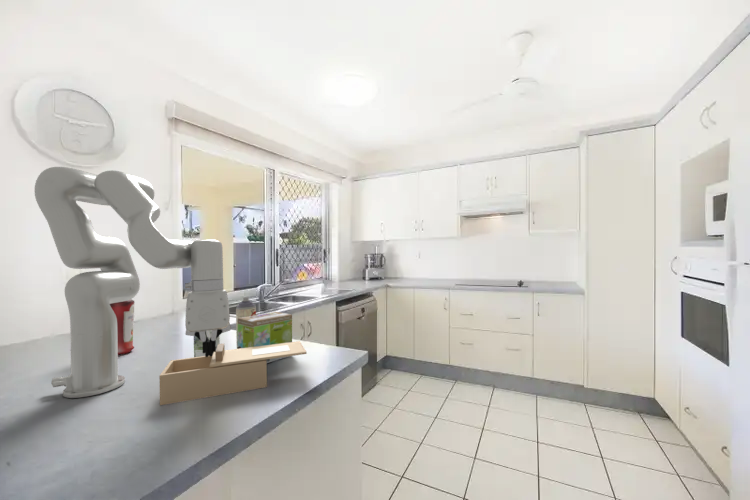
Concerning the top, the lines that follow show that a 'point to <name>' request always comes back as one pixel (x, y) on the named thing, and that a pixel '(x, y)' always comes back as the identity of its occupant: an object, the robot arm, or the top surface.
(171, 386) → the mailer box
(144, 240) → the robot arm
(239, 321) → the tea box
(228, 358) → the mailer lid
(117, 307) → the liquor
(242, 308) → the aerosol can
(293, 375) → the top surface
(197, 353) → the syrup box
